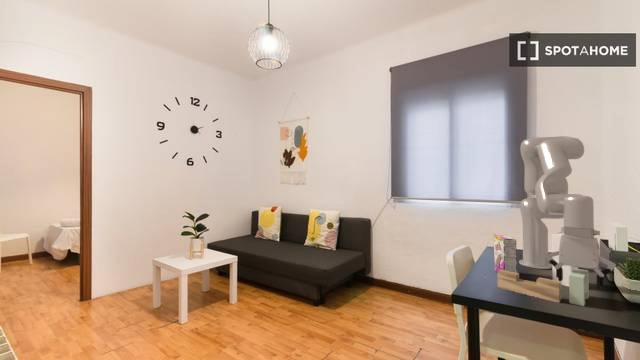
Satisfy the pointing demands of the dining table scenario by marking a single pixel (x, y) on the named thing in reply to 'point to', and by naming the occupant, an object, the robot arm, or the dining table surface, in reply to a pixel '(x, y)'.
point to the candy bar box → (505, 253)
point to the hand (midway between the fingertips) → (579, 283)
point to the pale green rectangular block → (578, 287)
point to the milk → (566, 268)
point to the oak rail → (529, 286)
